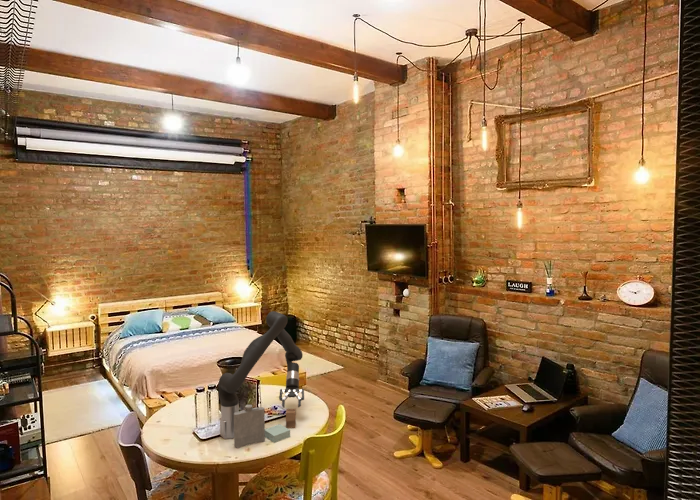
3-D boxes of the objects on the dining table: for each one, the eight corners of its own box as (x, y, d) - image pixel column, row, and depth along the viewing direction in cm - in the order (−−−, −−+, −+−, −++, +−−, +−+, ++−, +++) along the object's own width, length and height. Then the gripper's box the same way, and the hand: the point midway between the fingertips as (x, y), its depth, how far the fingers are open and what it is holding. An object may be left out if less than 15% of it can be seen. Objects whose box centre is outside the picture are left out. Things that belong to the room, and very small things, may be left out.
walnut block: (295, 428, 257) (294, 412, 256) (286, 428, 256) (285, 412, 256) (295, 424, 262) (295, 408, 261) (286, 424, 261) (286, 408, 261)
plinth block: (274, 443, 240) (274, 436, 240) (264, 436, 247) (264, 429, 247) (290, 437, 247) (290, 430, 246) (279, 431, 254) (279, 423, 254)
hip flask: (235, 448, 234) (234, 410, 232) (233, 445, 237) (232, 407, 236) (265, 441, 241) (265, 404, 240) (263, 438, 245) (262, 401, 244)
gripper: (279, 377, 270) (278, 404, 260) (304, 377, 271) (303, 404, 260) (280, 383, 276) (279, 410, 265) (304, 382, 277) (304, 409, 266)
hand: (291, 407), depth 263 cm, fingers open, 8 cm apart
